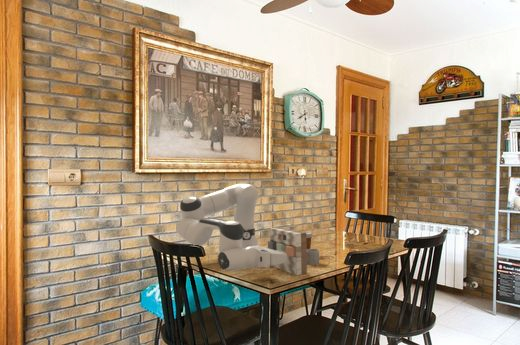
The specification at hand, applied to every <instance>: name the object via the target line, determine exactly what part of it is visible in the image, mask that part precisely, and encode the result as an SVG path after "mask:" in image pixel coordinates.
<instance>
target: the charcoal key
mask: <svg viewBox="0 0 520 345" xmlns="http://www.w3.org/2000/svg"><path fill="white" fill-rule="evenodd" d="M267 248H269V249H272V250H277V246H276V241H270V240H269V241H267Z"/></svg>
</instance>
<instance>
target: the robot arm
mask: <svg viewBox="0 0 520 345" xmlns="http://www.w3.org/2000/svg"><path fill="white" fill-rule="evenodd" d="M259 195H260V193H259V190H258V188H257V187H255V186H254V185H253V184H249V183H235V184H234V185H230V186H227V187H225V188H224V189H221V190H217V191H214V192H211V193H209V194H205V195H202V196H200V197H197V196H192V195H191V196H187V197H184V198H183V199H182V200H181V201H180V203H179V208H180V212H181V214H180V215H181V219H180V220H179V221H178V222H177V224H176V232H177V234H178V235H179V236H180V238H182V239H183V240H184V241H186V242H187V243H189V244H191V245H192V244H193V245H192V246H195V245H199V246H198V247H200V246H203V245H206V243H208V242H209V240H210V239H211V238H212V235H213V232H214V230H218V232H219V244H218V252H217V253H218V254H217V255H218V256H217V263H218V266H219V267H220V268H221V269H222V270H224V271H239V270H244V269H253V268H264V269H266V268H267V269H268V268H270V267H273V266H272V265H279V264H283V263H286V262H287V254H286V252H285V251H282V250H279V251H277V250H272V249H269V248H268V247H266V246H262V245H259V242H258V241H259V240H258V237H256V230H255V229H256V228H255V211H256V210H255V209H256V205H257V200H258V198H259ZM235 206H236V207H235ZM233 207H235V210H234V211H235V212H234V214H233V220H224V219H221V218H219V219H218V218H213V217H208V216H212V215H215V214H218V213H221V212H224V211H228V210H229V209H230V208H233Z"/></svg>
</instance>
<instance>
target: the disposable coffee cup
mask: <svg viewBox="0 0 520 345" xmlns="http://www.w3.org/2000/svg"><path fill="white" fill-rule="evenodd" d="M304 232H305V233H306V241H307V249H311V244H312V237H313V234H312V232H310V231H304Z"/></svg>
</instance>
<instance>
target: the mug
mask: <svg viewBox="0 0 520 345" xmlns="http://www.w3.org/2000/svg"><path fill="white" fill-rule="evenodd" d="M318 265H320V249H317V248H310V249H307V266H318Z"/></svg>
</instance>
